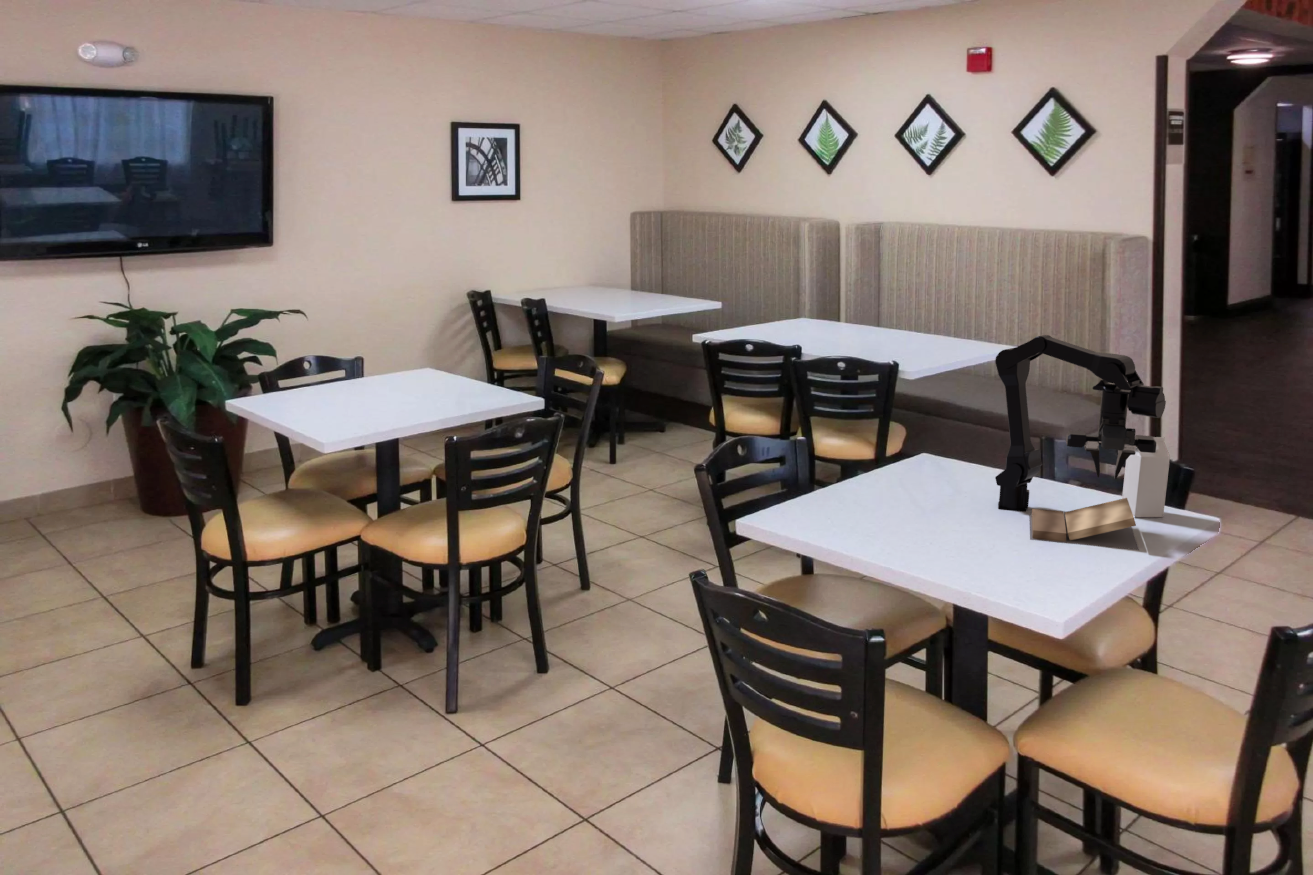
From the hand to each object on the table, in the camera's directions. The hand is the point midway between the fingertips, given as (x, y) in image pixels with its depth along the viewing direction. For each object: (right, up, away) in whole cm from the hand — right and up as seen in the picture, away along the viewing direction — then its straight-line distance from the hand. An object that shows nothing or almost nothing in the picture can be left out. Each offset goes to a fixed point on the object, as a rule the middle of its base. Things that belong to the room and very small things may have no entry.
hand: (1106, 477), depth 257 cm
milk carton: (+14, -9, +14) cm, 22 cm away
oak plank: (-3, -10, -3) cm, 11 cm away
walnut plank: (-13, -12, 0) cm, 18 cm away
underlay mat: (-6, -13, -2) cm, 14 cm away
